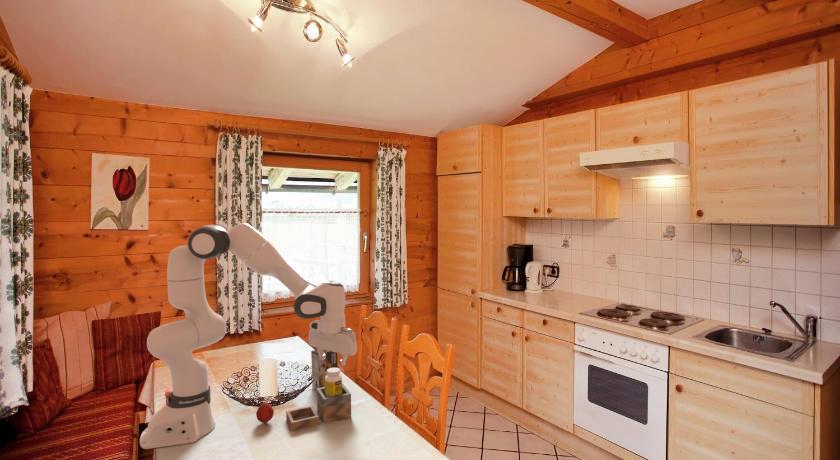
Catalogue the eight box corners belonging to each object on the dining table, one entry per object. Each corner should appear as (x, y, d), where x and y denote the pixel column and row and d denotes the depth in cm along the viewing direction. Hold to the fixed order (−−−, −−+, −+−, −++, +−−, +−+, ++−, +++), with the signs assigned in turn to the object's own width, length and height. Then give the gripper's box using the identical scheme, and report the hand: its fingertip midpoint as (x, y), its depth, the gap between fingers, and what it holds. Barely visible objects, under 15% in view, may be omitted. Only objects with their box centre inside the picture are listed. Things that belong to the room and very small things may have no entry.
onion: (257, 429, 153) (257, 406, 153) (255, 421, 158) (254, 400, 158) (275, 425, 156) (274, 403, 155) (272, 417, 161) (271, 396, 160)
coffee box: (330, 381, 193) (330, 345, 191) (338, 386, 188) (338, 349, 187) (311, 387, 187) (310, 350, 185) (318, 392, 182) (318, 354, 181)
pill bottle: (337, 403, 159) (337, 374, 158) (322, 401, 161) (321, 372, 160) (345, 396, 165) (344, 367, 164) (330, 394, 167) (329, 365, 166)
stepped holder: (291, 431, 152) (291, 406, 151) (286, 418, 160) (285, 394, 160) (351, 417, 161) (350, 393, 161) (342, 406, 170) (342, 383, 170)
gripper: (361, 328, 159) (360, 365, 160) (317, 318, 169) (317, 353, 170) (350, 332, 153) (349, 371, 154) (305, 322, 163) (305, 359, 164)
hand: (332, 362), depth 162 cm, fingers open, 8 cm apart
